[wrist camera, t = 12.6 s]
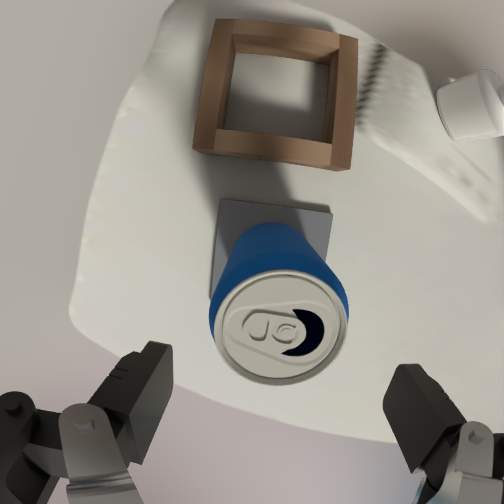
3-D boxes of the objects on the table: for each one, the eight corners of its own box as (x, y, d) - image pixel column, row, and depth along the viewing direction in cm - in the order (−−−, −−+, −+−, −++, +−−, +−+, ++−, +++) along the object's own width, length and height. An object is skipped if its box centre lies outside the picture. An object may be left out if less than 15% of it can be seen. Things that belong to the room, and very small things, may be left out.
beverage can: (301, 303, 24) (331, 397, 12) (225, 291, 24) (197, 381, 12) (318, 229, 22) (375, 273, 11) (238, 214, 22) (213, 246, 11)
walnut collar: (346, 55, 20) (357, 38, 16) (337, 171, 22) (350, 169, 19) (221, 38, 19) (215, 18, 16) (201, 153, 22) (192, 148, 19)
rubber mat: (331, 213, 23) (333, 214, 22) (312, 314, 25) (313, 317, 24) (221, 198, 23) (220, 199, 22) (211, 302, 25) (210, 305, 24)
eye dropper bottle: (432, 132, 21) (524, 112, 9) (435, 82, 19) (514, 44, 8) (464, 148, 21) (553, 141, 9) (466, 100, 20) (546, 76, 8)
